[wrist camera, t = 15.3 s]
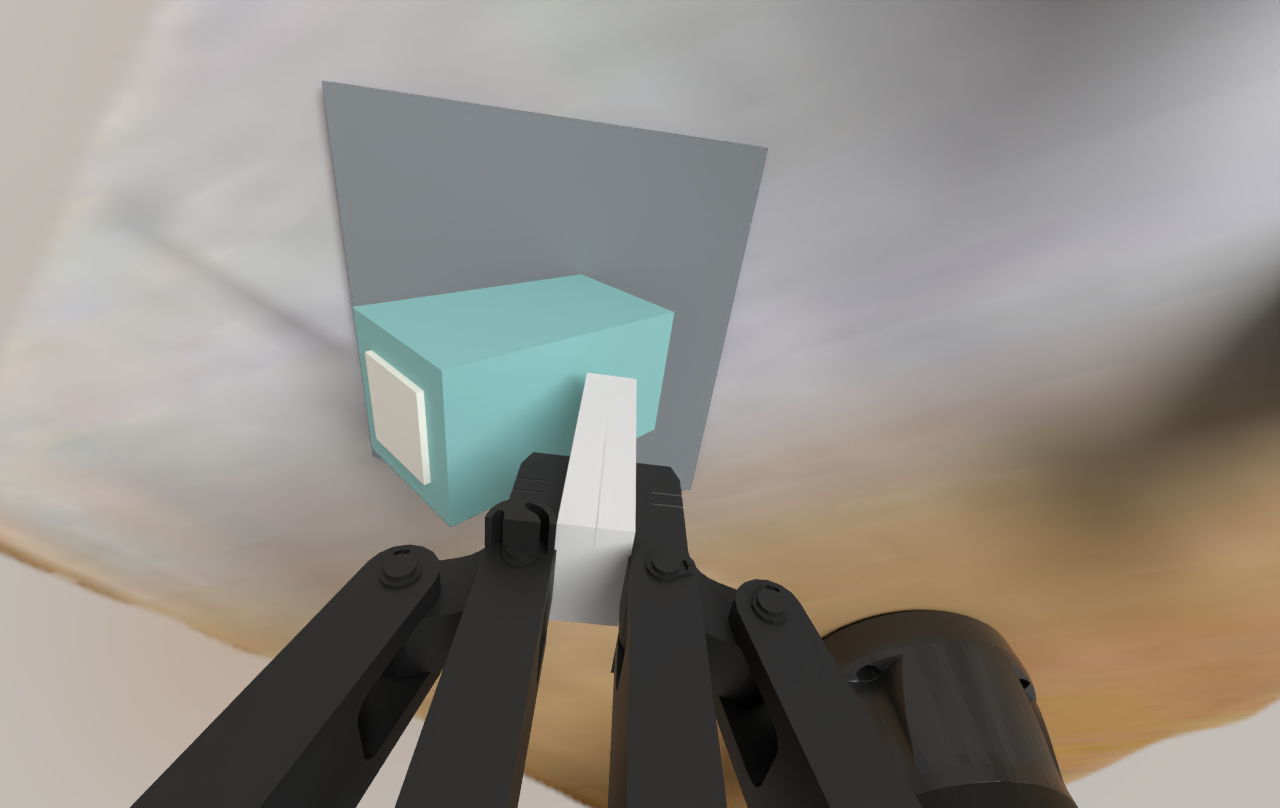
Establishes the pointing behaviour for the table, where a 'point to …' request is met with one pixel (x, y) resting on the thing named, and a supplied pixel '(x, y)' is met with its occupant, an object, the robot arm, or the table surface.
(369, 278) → the mat
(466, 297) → the block
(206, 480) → the table surface
